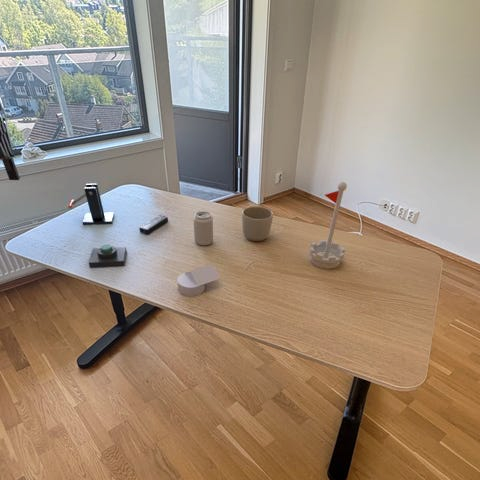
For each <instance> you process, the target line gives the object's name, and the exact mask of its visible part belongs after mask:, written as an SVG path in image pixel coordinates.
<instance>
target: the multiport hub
mask: <svg viewBox="0 0 480 480" xmlns="http://www.w3.org/2000/svg"><path fill="white" fill-rule="evenodd" d="M168 223H169V217H168V216H166V215H163V214H159V215H157V216H156V217H154V218H152V219H150V220H149V221H147V222H146V223H144V224H142V225H141V226H139V227H138V229H139V233H140V234H143V235H146V236H150V235H151V234H153V233H154V232H156V231H157V230H158V229H160V228H161V227H163V226H165V225H166V224H168Z"/></svg>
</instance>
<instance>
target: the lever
mask: <svg viewBox="0 0 480 480" xmlns="http://www.w3.org/2000/svg"><path fill="white" fill-rule="evenodd" d="M91 187H94V186H93V185H92V186H91ZM96 190H97V189H96ZM84 198H87V197H86V194H85V192H84V193H83V194H81V195H80V196H79V197H77V198H75V199H71V200H70V202H69V204H68V209H70V210H71V209H73V207H74V205H75V204H78V203H79V202H81V201H82V200H83V199H84Z"/></svg>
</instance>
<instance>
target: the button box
mask: <svg viewBox="0 0 480 480" xmlns="http://www.w3.org/2000/svg"><path fill="white" fill-rule="evenodd" d="M111 248H112V251H111V252H110V253H102V251H101V246H100V247H97V248H96V247H94V248H92V249H91V253H90V256H89V258H88V266H89V269H96V268H113V267H125V266H126V259H127V255H128V254H127V253H128V252H127V247H126V246H118V247H115V246H113V245H111Z"/></svg>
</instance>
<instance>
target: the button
mask: <svg viewBox="0 0 480 480" xmlns="http://www.w3.org/2000/svg"><path fill="white" fill-rule="evenodd" d="M111 246H112V245H111V244H102V245H101V246H100V247H101V251H102V253H110V252H111V251H112V248H111Z"/></svg>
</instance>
